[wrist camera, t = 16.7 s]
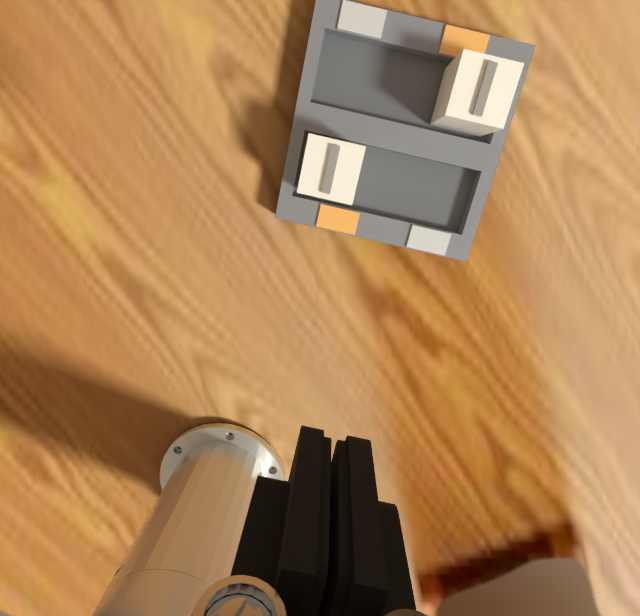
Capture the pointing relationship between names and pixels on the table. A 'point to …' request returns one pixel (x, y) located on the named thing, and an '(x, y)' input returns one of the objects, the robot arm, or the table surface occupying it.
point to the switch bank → (393, 128)
